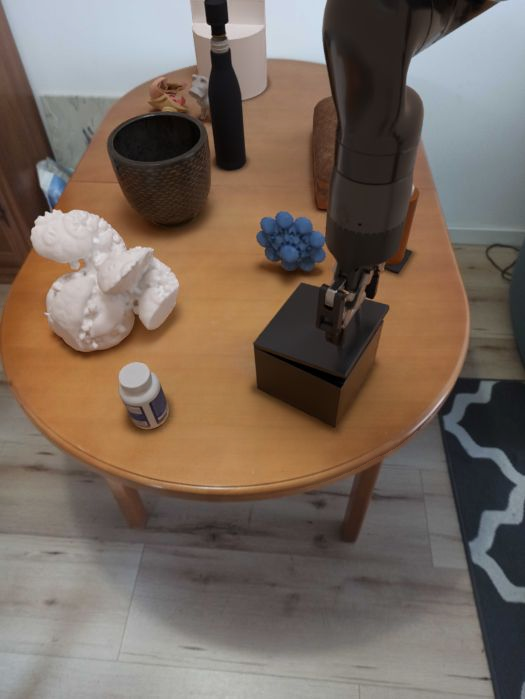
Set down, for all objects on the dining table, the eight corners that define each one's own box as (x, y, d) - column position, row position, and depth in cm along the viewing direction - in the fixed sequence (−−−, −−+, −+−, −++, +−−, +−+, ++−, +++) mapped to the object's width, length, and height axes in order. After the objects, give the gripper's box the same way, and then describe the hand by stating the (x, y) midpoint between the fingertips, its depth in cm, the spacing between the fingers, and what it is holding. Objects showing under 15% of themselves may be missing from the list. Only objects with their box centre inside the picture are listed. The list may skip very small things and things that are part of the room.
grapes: (253, 284, 86) (249, 227, 76) (260, 257, 90) (257, 200, 80) (321, 290, 84) (326, 234, 75) (326, 263, 88) (330, 206, 79)
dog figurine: (188, 125, 118) (180, 78, 110) (222, 102, 124) (217, 55, 116) (205, 132, 116) (198, 84, 108) (239, 107, 122) (235, 60, 114)
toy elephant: (191, 124, 119) (159, 104, 112) (165, 134, 126) (133, 116, 119) (197, 87, 120) (165, 65, 113) (170, 99, 127) (138, 79, 119)
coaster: (411, 253, 89) (412, 251, 89) (398, 274, 86) (398, 271, 86) (380, 242, 91) (380, 239, 91) (365, 262, 88) (366, 259, 88)
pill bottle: (162, 391, 73) (147, 351, 66) (174, 420, 70) (160, 382, 63) (126, 406, 72) (107, 366, 64) (137, 436, 69) (118, 398, 61)
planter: (176, 255, 91) (158, 177, 78) (110, 221, 98) (84, 144, 85) (235, 206, 99) (228, 128, 86) (171, 177, 106) (155, 101, 93)
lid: (389, 309, 65) (389, 274, 61) (345, 379, 59) (341, 345, 55) (301, 286, 72) (296, 253, 67) (253, 347, 65) (244, 315, 61)
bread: (313, 213, 97) (316, 159, 88) (310, 131, 114) (313, 79, 105) (403, 213, 96) (415, 158, 87) (387, 130, 114) (395, 77, 104)
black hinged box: (374, 363, 75) (384, 320, 67) (335, 428, 69) (341, 389, 61) (300, 330, 79) (301, 286, 72) (257, 388, 73) (253, 347, 65)
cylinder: (208, 67, 136) (193, -64, 113) (272, 70, 133) (269, -63, 111) (192, 99, 125) (172, -38, 103) (261, 103, 123) (255, -37, 101)
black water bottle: (246, 169, 106) (234, 6, 82) (215, 171, 106) (195, 8, 83) (246, 152, 110) (234, -8, 86) (216, 154, 110) (197, -6, 87)
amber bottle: (408, 251, 89) (425, 182, 77) (396, 269, 86) (413, 200, 75) (381, 242, 90) (395, 173, 79) (369, 259, 88) (381, 190, 77)
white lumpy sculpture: (-16, 308, 72) (51, 186, 72) (75, 332, 91) (129, 236, 90) (75, 373, 66) (150, 240, 65) (153, 385, 85) (211, 282, 84)
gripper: (371, 263, 43) (353, 372, 56) (433, 176, 50) (404, 291, 63) (295, 235, 46) (294, 346, 58) (363, 156, 53) (349, 270, 65)
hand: (351, 317), depth 61 cm, fingers open, 8 cm apart
